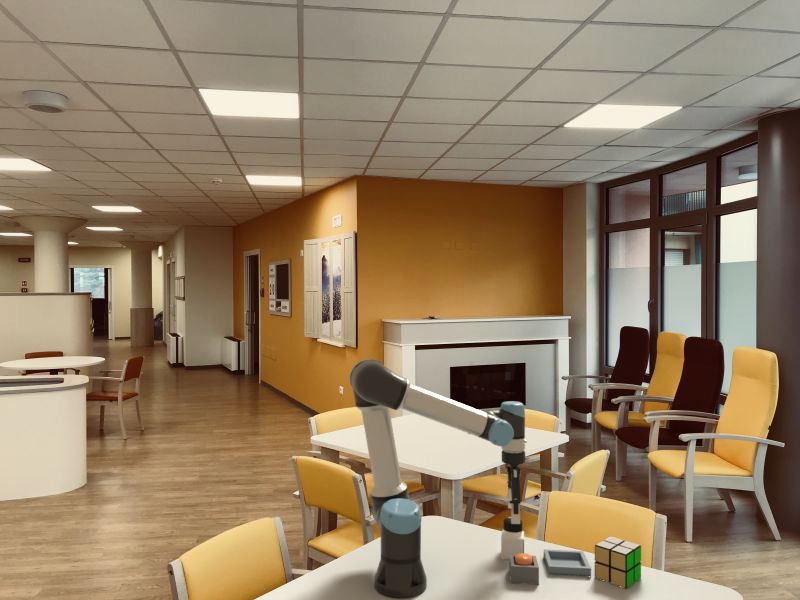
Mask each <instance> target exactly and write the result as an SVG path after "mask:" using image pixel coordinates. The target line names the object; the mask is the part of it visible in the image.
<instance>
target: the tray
mask: <svg viewBox="0 0 800 600" xmlns="http://www.w3.org/2000/svg"><path fill="white" fill-rule="evenodd" d="M543 560H544V563H545V567H546V569H547V573H548V575H549V576H564V577H565V576H566V577H567V576H569V577H570V576H571V577H587V578H588V577H589V576H590V578H591V577H592V567H591V564H590V563H589V561H588V559H587V557H586V554H585V553H584V551H583V550H569V549H568V550H565V549H543Z"/></svg>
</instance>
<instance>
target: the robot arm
mask: <svg viewBox="0 0 800 600" xmlns="http://www.w3.org/2000/svg"><path fill="white" fill-rule="evenodd" d="M349 383H350V386H351V388H352V392H353V397H354V398H353V399H354V403H355V408H357V409H358V410H360V411H361V416H362V421H363V428H364V434H365V440H366V445H367V451H368V456H369V464H370V469H371V474H372V475H371V476H372V480H373V481H372V482H373V487H372V488H371V489H370V491H369V493H370V498H371V514H372V518H373V519H374V521H375V524H376V526H377V529H378V530H379V532H380V560H379V563H378V566H377V569H376V572H375V576H374V589H375V590H376V592H378V593H379V594H381V595H383V596H386V597H389V598H395V599H396V598H397V599H406V598H411V597H416V596H418V595H420V594H423V593H424V592H425V591H426V589H427V585H428V584H427V582H428V580H427V579H428V578H427V574H426V572H425V569H424V565H423V562H422V559H421V558H422V557H421V556H422V555H421V554H422V552H421V551H422V550H421V548H422V547H421V546H422V545H421V544H422V542H421V540H422V534H421V533H422V513H421V507H420V506H419V505H418V503H416V502H415V501H412V500H410V496H409V495H410V494H409V489H408V486H407V485H408V484H407V483H406V482H404V481H402V477H401V471H400V465H399V459H398V453H397V448H396V447H397V446H396V442H395V441H396V440H395V436H394V435H395V434H394V429H393V424H392V422H393V421H392V418H391V409H392V410H395V411H397V410H398V411H399V410H400V409H402V410H404V411H406V412H410V413H413V414H416V415H418V416H420V417H423V418H427V419H430V420H432V421H434V422H437V423H440V424H443V425H445V426H448V427H450V428H453V429H456V430H458V431H462V432H464V433H467V434H468V435H472V436H474V437H476V438H477V437H478V438H480V439H483V440H485V441H488V442H490V443H491V444H492V445H494V446H497V447H501V462H502V463H503V464H505V465H507V467H506V471H507V482H506V483H507V503H508V504H507V508H508V509H510V512H511V513H510V515H511V516H510V517H511V524H520V519H521V503H522V501H521V483H520V482H521V469H520V466H519V465H523V464H525V463H526V450H525V449H526V444H527V443H528V441H527V439H526V435H525V434H526V412H525V411H526V410H525V405H524V403H522V402H521V401H515V400H514V401H513V400H511V401H509V400H508V401H503V402H502V403H501V404H500V408H496V409H495V408H494V409H476V408H474V407H472V406H469V405H466V404H464V403H461V402H458V401H456V400H453V399H451V398H448V397H445V396H443V395H441V394H438V393H435V392H432V391H430V390H428V389H426V388H422V387H420V386H417V385H414V384H411V383H410V381H409V379H408V378H406V377H403V376H401V375H399V374H397V373H395V372H393V371H392V370H391V369H389V368H388V367H386V365H384V364H383V362H381V361H380V360H377V359H373V358H371V359H369V358H368V359H367V358H366V359H363V360H360V361H359V362H357V363H356V364H355V365H354V366H353V368H352V369H351V371H350V375H349Z"/></svg>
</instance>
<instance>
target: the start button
mask: <svg viewBox="0 0 800 600" xmlns="http://www.w3.org/2000/svg"><path fill="white" fill-rule="evenodd" d="M532 556H533V555H530V554H528V553H525V552H524V553H520V554H516V555H515V565H529V566H532Z"/></svg>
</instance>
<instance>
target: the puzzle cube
mask: <svg viewBox="0 0 800 600" xmlns="http://www.w3.org/2000/svg"><path fill="white" fill-rule="evenodd" d="M641 561H642V545H641V544H638V543H634V542H632V541H627V540H624V539H622V538H619V537H614V536H609V537H606V538H605V539H603V540H601V541H600V542H598V543H596V544H595V545H594V578H595V579H597V578H598V580H600V579H601V581H603V580H604V581H603V582H606V581H607V582H606V583H608V582H610V584H611V583H612V585H614V584H615V586H617V587H620V586H621V587H620V588H622V587H623V588H622V589H625V588H626V589H628V588H629V587H630V586H632V585H633V584H634V583H636V582H638V581H639V580H640V579H641V578H642V562H641Z"/></svg>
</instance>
